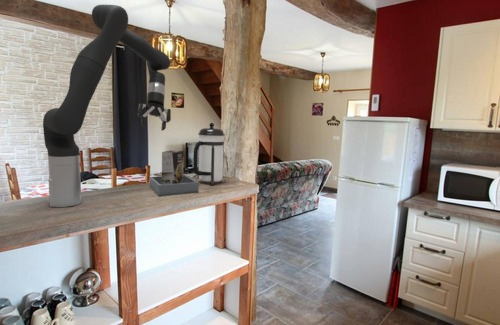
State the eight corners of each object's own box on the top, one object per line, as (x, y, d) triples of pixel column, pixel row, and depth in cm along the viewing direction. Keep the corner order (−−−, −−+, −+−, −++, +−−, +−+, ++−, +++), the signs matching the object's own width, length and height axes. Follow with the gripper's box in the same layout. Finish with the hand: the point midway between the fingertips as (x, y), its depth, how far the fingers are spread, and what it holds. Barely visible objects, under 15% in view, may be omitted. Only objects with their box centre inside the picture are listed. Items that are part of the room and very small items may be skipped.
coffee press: (193, 179, 152) (194, 121, 148) (223, 179, 155) (225, 123, 151) (193, 187, 136) (193, 122, 131) (227, 187, 139) (229, 123, 134)
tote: (159, 196, 118) (158, 185, 117) (149, 186, 134) (149, 176, 133) (198, 192, 126) (198, 182, 125) (185, 183, 142) (185, 174, 141)
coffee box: (175, 190, 125) (175, 152, 123) (161, 188, 126) (161, 151, 124) (183, 185, 134) (184, 150, 131) (170, 184, 135) (170, 149, 133)
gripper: (142, 87, 127) (139, 122, 123) (174, 95, 135) (171, 129, 131) (137, 93, 133) (134, 127, 129) (168, 101, 141) (166, 133, 137)
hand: (153, 128), depth 130 cm, fingers open, 8 cm apart
